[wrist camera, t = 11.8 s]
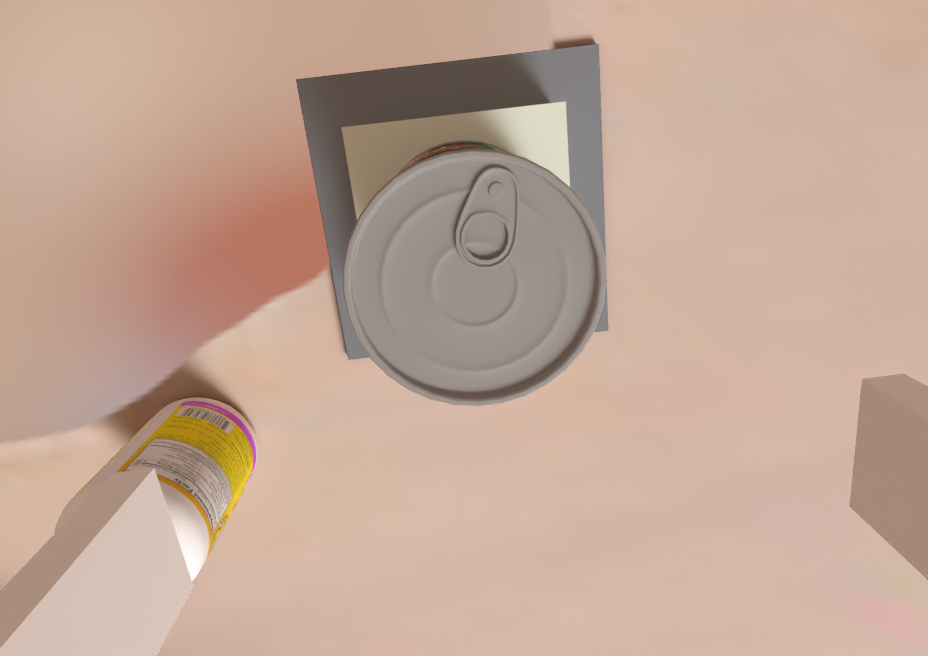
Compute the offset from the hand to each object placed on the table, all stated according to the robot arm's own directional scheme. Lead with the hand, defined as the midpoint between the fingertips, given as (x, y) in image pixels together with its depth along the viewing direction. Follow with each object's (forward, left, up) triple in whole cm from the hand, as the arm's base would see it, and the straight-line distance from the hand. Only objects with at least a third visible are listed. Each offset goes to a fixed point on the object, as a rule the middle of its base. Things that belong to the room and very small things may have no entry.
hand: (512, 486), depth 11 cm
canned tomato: (0, +2, -19) cm, 19 cm away
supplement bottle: (-17, -10, -23) cm, 31 cm away
